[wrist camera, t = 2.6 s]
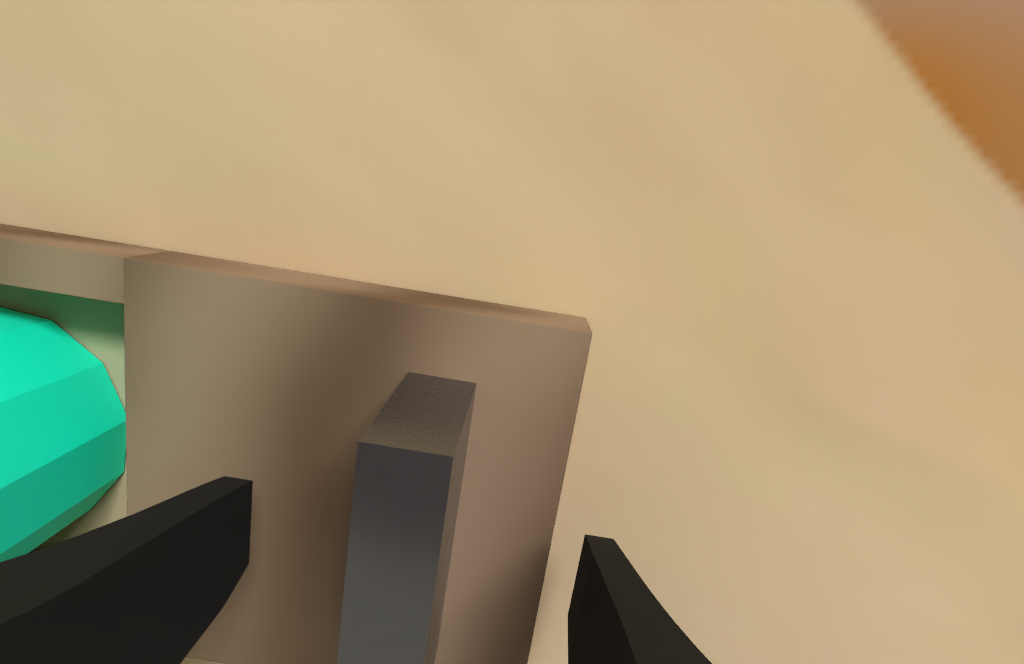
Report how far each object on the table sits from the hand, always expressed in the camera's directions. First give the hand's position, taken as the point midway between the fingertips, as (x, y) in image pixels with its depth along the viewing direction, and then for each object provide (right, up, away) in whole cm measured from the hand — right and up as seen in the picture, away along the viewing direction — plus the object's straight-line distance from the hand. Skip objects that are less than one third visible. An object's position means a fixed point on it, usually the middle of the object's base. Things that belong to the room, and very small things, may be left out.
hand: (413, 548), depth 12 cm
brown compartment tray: (-7, +2, +3) cm, 7 cm away
